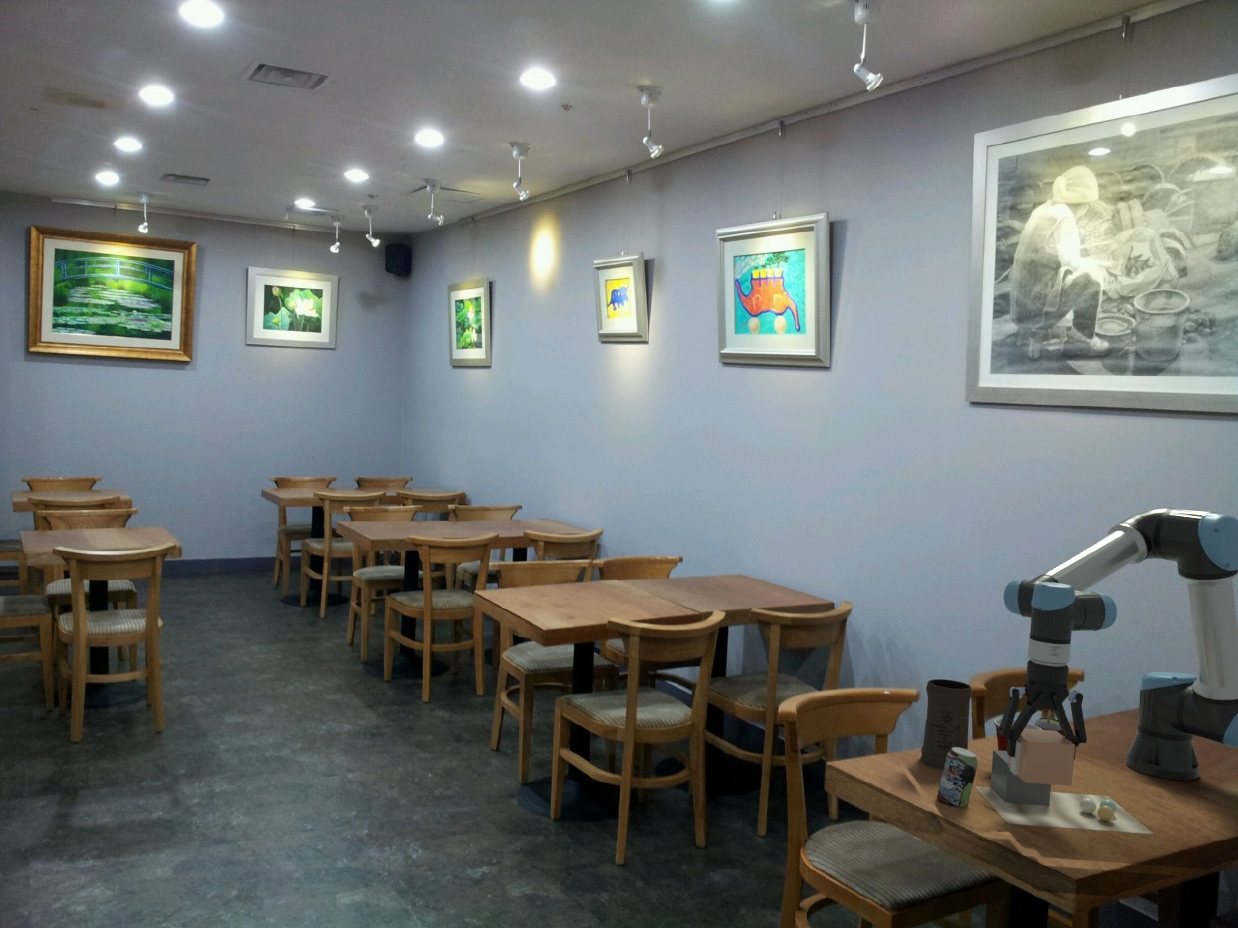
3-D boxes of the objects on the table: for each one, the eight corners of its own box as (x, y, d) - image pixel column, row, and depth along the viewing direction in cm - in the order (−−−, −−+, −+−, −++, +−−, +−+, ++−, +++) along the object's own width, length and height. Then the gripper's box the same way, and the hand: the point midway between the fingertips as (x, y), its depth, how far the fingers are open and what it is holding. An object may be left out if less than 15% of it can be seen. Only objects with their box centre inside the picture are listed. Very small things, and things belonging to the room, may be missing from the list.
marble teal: (1111, 812, 203) (1112, 797, 203) (1118, 817, 200) (1119, 803, 200) (1096, 810, 203) (1097, 796, 203) (1103, 816, 200) (1104, 801, 200)
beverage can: (932, 800, 207) (937, 743, 207) (968, 802, 207) (972, 745, 206) (941, 811, 201) (945, 753, 200) (978, 814, 200) (982, 755, 200)
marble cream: (1091, 810, 203) (1092, 796, 203) (1098, 816, 200) (1099, 801, 200) (1076, 809, 203) (1077, 795, 203) (1082, 815, 200) (1084, 800, 200)
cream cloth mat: (1106, 801, 212) (1107, 795, 212) (1153, 839, 192) (1154, 833, 192) (974, 791, 213) (974, 786, 213) (1007, 829, 193) (1007, 823, 193)
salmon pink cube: (1053, 769, 201) (1056, 730, 201) (1071, 785, 192) (1075, 744, 192) (1008, 766, 201) (1011, 727, 201) (1024, 782, 192) (1027, 741, 192)
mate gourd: (1047, 746, 249) (1052, 687, 249) (1072, 757, 242) (1076, 696, 241) (1024, 748, 247) (1028, 688, 246) (1048, 759, 239) (1052, 697, 239)
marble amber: (1109, 818, 199) (1110, 803, 199) (1116, 824, 196) (1117, 809, 196) (1094, 817, 199) (1095, 802, 199) (1101, 823, 196) (1102, 808, 196)
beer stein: (972, 779, 221) (978, 689, 222) (922, 773, 223) (928, 684, 224) (961, 762, 236) (966, 677, 237) (914, 756, 238) (919, 672, 239)
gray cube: (1032, 789, 213) (1035, 752, 213) (1049, 805, 204) (1052, 767, 204) (990, 786, 214) (993, 749, 213) (1005, 802, 205) (1008, 763, 204)
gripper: (998, 662, 193) (989, 776, 193) (1113, 670, 192) (1103, 785, 193) (986, 653, 200) (977, 764, 201) (1095, 661, 199) (1086, 772, 200)
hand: (1039, 774), depth 197 cm, fingers closed on salmon pink cube, 9 cm apart
